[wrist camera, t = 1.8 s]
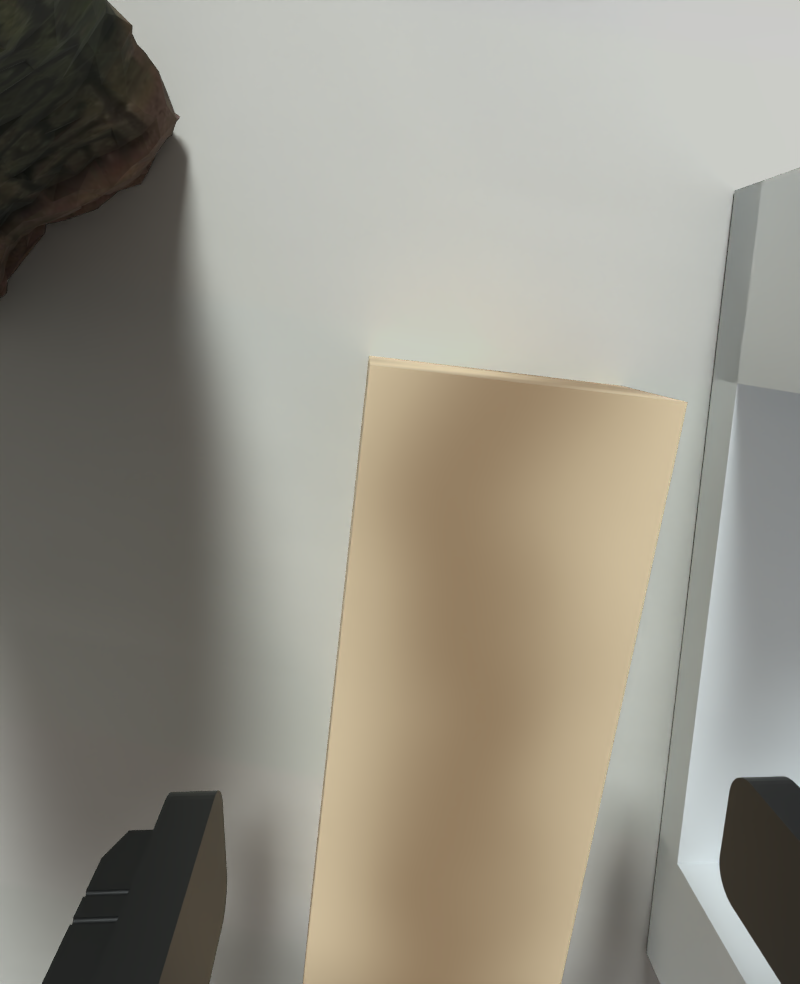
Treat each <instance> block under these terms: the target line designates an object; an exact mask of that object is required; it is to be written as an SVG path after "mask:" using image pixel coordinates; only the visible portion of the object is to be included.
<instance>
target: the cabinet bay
mask: <svg viewBox="0 0 800 984" xmlns="http://www.w3.org/2000/svg"><path fill="white" fill-rule="evenodd" d="M773 776H785V777H788V778H790V779H791V780H793V781H794V782H795V783H796V784H797V785H798V786H799V787H800V168H797V169H794V170H791V171H789V172H786V173H783V174H780V175H777V176H775V177H772V178H769V179H766V180H763V181H761V182H758V183H755V184H752V185H749V186H747V187H744V188H741V189H738V190H735V194H734V203H733V212H732V220H731V229H730V237H729V246H728V255H727V263H726V272H725V280H724V289H723V298H722V306H721V315H720V323H719V332H718V341H717V349H716V358H715V366H714V375H713V384H712V392H711V401H710V410H709V418H708V427H707V435H706V444H705V453H704V461H703V470H702V478H701V487H700V496H699V504H698V513H697V521H696V530H695V539H694V547H693V556H692V565H691V573H690V582H689V590H688V599H687V608H686V616H685V625H684V633H683V642H682V651H681V659H680V668H679V676H678V685H677V694H676V702H675V711H674V720H673V728H672V737H671V745H670V754H669V763H668V771H667V780H666V788H665V797H664V806H663V814H662V823H661V831H660V840H659V849H658V857H657V866H656V874H655V883H654V892H653V900H652V909H651V918H650V926H649V935H648V943H647V952H646V953H647V955H648V958H649V960H650V962H651V964H652V967H653V969H654V971H655V973H656V976H657V978H658V980H659V982H660V984H781V983H780V981H779V980H778V978H777V977H776V975H775V973H774V972H773V970H772V969H771V967H770V966H769V964H768V962H767V961H766V959H765V958H764V956H763V955H762V953H761V951H760V950H759V948H758V947H757V945H756V944H755V942H754V940H753V939H752V937H751V936H750V934H749V933H748V931H747V929H746V928H745V926H744V925H743V923H742V922H741V920H740V918H739V917H738V915H737V914H736V912H735V911H734V909H733V908H732V906H731V904H730V902H729V900H728V898H727V896H726V893H725V891H724V888H723V885H722V880H721V876H720V868H719V858H720V850H721V843H722V837H723V830H724V823H725V817H726V810H727V803H728V797H729V791H730V786H731V784H732V782H733V781H734V780H735V779H736V778H739V777H773Z"/></svg>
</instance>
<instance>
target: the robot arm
mask: <svg viewBox="0 0 800 984" xmlns="http://www.w3.org/2000/svg"><path fill="white" fill-rule="evenodd" d="M719 868H720V876H721V880H722V885H723V888H724V891H725V893H726V896H727V898H728V900H729V902H730V904H731V906H732V908H733V909H734V911H735V912H736V914H737V915H738V917H739V918H740V920H741V922H742V923H743V925H744V926H745V928H746V929H747V931H748V933H749V934H750V936H751V937H752V939H753V940H754V942H755V944H756V945H757V947H758V948H759V950H760V951H761V953H762V955H763V956H764V958H765V959H766V961H767V962H768V964H769V966H770V967H771V969H772V970H773V972H774V973H775V975H776V977H777V978H778V980H779V981H780V983H781V984H800V787H799V786H798V785H797V784H796V783H795V782H794V781H793V780H791V779H790V778H788V777H785V776H773V777H739V778H736V779H735V780H734V781H733V782H732V784H731V786H730V791H729V797H728V803H727V810H726V817H725V823H724V830H723V837H722V843H721V850H720V858H719ZM226 892H227V867H226V850H225V834H224V817H223V801H222V795H221V792H220V791H194V792H170V793H169V794H168V796H167V798H166V800H165V802H164V805H163V807H162V810H161V812H160V815H159V817H158V820H157V822H156V825H155V827H154V830H132V831H128V832H127V833H126V834H125V835H124V836H123V837H122V838H121V839H120V840H119V841H118V842H117V843H116V844H115V845H114V846H113V847H112V848H111V849H110V850H109V851H108V852H107V853H106V854H105V855H104V856H103V857H102V859H101V861H100V863H99V865H98V867H97V869H96V871H95V873H94V875H93V877H92V880H91V882H90V884H89V886H88V888H87V890H86V896H85V897H83V898H82V901H81V903H80V905H79V907H78V909H77V911H76V913H75V915H74V917H73V924H72V925H70V926H69V928H68V930H67V932H66V934H65V936H64V938H63V940H62V942H61V945H60V947H59V949H58V951H57V953H56V955H55V957H54V959H53V961H52V963H51V966H50V968H49V970H48V972H47V974H46V976H45V978H44V980H43V982H42V984H209V982H210V977H211V973H212V968H213V964H214V960H215V955H216V951H217V946H218V942H219V937H220V933H221V928H222V924H223V919H224V912H225V904H226Z"/></svg>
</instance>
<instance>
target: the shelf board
mask: <svg viewBox="0 0 800 984" xmlns="http://www.w3.org/2000/svg"><path fill="white" fill-rule="evenodd" d="M687 403H688V402H684V401H680V400H676V399H672V398H668V397H664V396H660V395H656V394H652V393H648V392H644V391H640V390H636V389H632V388H628V387H624V386H618V385H610V384H601V383H593V382H584V381H576V380H568V379H559V378H551V377H543V376H534V375H526V374H517V373H509V372H501V371H492V370H484V369H476V368H467V367H459V366H450V365H442V364H434V363H425V362H417V361H409V360H400V359H392V358H383V357H375V356H369V360H368V370H367V379H366V389H365V398H364V407H363V417H362V426H361V435H360V445H359V454H358V463H357V473H356V482H355V492H354V501H353V510H352V520H351V529H350V538H349V548H348V557H347V566H346V576H345V585H344V594H343V604H342V613H341V623H340V632H339V641H338V651H337V660H336V669H335V679H334V688H333V697H332V707H331V716H330V726H329V735H328V744H327V754H326V763H325V772H324V782H323V791H322V800H321V810H320V819H319V829H318V838H317V847H316V857H315V866H314V875H313V885H312V894H311V904H310V914H309V924H308V935H307V945H306V956H305V966H304V976H303V984H561V981H562V976H563V972H564V967H565V962H566V958H567V953H568V949H569V944H570V940H571V935H572V930H573V926H574V921H575V917H576V912H577V907H578V903H579V898H580V894H581V889H582V884H583V880H584V875H585V871H586V866H587V862H588V857H589V852H590V848H591V843H592V839H593V834H594V829H595V825H596V820H597V816H598V811H599V806H600V802H601V797H602V793H603V788H604V783H605V779H606V774H607V770H608V765H609V761H610V756H611V751H612V747H613V742H614V738H615V733H616V728H617V724H618V719H619V715H620V710H621V705H622V701H623V696H624V692H625V687H626V683H627V678H628V673H629V669H630V664H631V660H632V655H633V650H634V646H635V641H636V637H637V632H638V627H639V623H640V618H641V614H642V609H643V605H644V600H645V595H646V591H647V586H648V582H649V577H650V572H651V568H652V563H653V559H654V554H655V549H656V545H657V540H658V536H659V531H660V527H661V522H662V517H663V513H664V508H665V504H666V499H667V494H668V490H669V485H670V481H671V476H672V471H673V467H674V462H675V458H676V453H677V449H678V444H679V439H680V435H681V430H682V426H683V421H684V416H685V412H686V407H687Z"/></svg>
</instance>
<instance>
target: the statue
mask: <svg viewBox="0 0 800 984" xmlns="http://www.w3.org/2000/svg"><path fill="white" fill-rule="evenodd" d="M179 118H180V116H178V115H177V114H175V112H174V110H173V107H172V104H171V101H170V99H169V96H168V94H167V91H166V89H165V86H164V84H163V81H162V79H161V76H160V74H159V71H158V70H157V68H156V67H155V66H154V64H153V63H152V61H151V60H150V59H149V57H148V56H147V54H146V53H145V52H144V51H143V50H142V49H141V48H140V47H139V46H138V45H137V43H136V41H135V39H134V37H133V34H132V25H131V24H130V23H129V22H128V21H127V20H126V19H125V18H124V17H123V16H122V15H121V14H120V13H119V12H118V11H117V10H116V9H115V8H114V7H113V6H112V5H111V4H110V3H109V2H108V1H107V0H0V298H1V297H3V296H4V295H5V294H6V293H7V280H8V279H9V278H10V276H11V275H12V274H13V273H14V271H15V270H16V269H17V268H18V266H19V265H20V264H21V262H22V261H23V260H24V259H25V257H26V256H27V255H28V254H29V252H30V251H31V250H32V248H33V247H34V246H35V245H36V243H37V242H38V241H39V240H40V238H41V237H42V236H43V235H44V233H45V228H46V224H49V223H54V222H60V221H64V220H67V219H70V218H73V217H76V216H78V215H81V214H84V213H87V212H89V211H92V210H95V209H98V208H99V207H100V206H101V205H102V204H103V203H105V202H106V201H107V200H108V199H109V198H111V197H112V196H113V195H114V194H115V193H116V192H118V191H120V190H123V189H126V188H129V187H133V186H136V185H139V184H141V183H142V181H143V179H144V178H145V176H146V174H147V173H148V171H149V169H150V166H151V164H152V162H153V160H154V158H155V155H156V154H157V152H158V151H159V149H160V148H161V146H162V145H163V143H164V142H165V140H166V139H167V138H168V137H169V136H171V135H172V133H173V130H174V127H175V124H176V122H177V120H178V119H179Z"/></svg>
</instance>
